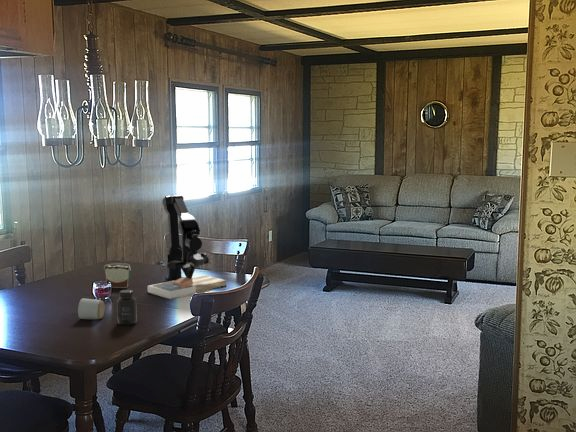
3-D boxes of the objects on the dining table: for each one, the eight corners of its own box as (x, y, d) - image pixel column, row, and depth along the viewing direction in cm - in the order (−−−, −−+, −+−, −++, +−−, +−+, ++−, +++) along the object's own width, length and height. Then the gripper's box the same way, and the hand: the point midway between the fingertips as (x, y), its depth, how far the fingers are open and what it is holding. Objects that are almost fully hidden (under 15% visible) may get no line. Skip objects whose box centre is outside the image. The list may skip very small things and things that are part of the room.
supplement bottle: (140, 321, 237) (140, 290, 236) (129, 326, 231) (128, 294, 230) (125, 319, 240) (125, 288, 239) (113, 324, 234) (112, 292, 233)
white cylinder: (99, 321, 237) (99, 301, 236) (77, 321, 237) (77, 301, 237) (108, 314, 248) (107, 294, 247) (87, 313, 248) (86, 294, 247)
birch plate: (175, 287, 289) (175, 281, 289) (206, 280, 302) (206, 275, 302) (195, 292, 280) (194, 287, 280) (226, 285, 293) (226, 280, 293)
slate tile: (161, 291, 279) (161, 286, 279) (172, 289, 284) (172, 283, 283) (169, 294, 275) (169, 288, 275) (181, 291, 280) (180, 286, 279)
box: (147, 292, 280) (147, 285, 279) (173, 287, 290) (173, 280, 289) (169, 299, 269) (169, 292, 269) (195, 293, 279) (195, 286, 279)
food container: (135, 284, 294) (134, 263, 292) (130, 288, 288) (130, 266, 286) (109, 284, 295) (108, 262, 294) (104, 287, 289) (103, 265, 288)
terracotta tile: (173, 286, 283) (172, 281, 282) (184, 282, 287) (183, 276, 287) (182, 289, 279) (181, 283, 278) (193, 284, 283) (192, 278, 283)
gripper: (182, 252, 272) (183, 288, 274) (216, 246, 285) (217, 280, 287) (167, 248, 279) (168, 284, 281) (200, 243, 293) (201, 276, 295)
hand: (189, 281), depth 286 cm, fingers closed
